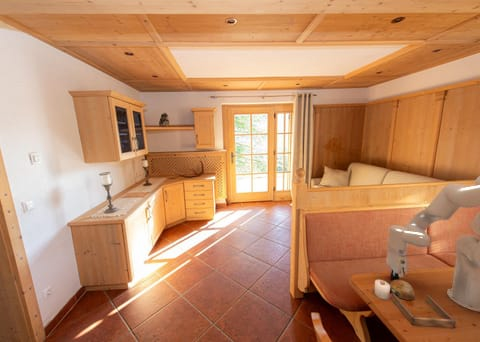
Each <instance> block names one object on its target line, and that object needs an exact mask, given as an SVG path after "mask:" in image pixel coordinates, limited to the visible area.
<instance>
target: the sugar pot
mask: <svg viewBox="0 0 480 342" xmlns="http://www.w3.org/2000/svg"><path fill="white" fill-rule="evenodd" d="M389 284H390V283H388V282H387V281H385V280H382V279H375V280H374V295H375V296H376V297H377V298H379V299H381V300H383V301H384V300H385V301H386V300H389V299H390V293H391V292H390V285H389Z"/></svg>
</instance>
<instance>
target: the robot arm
mask: <svg viewBox="0 0 480 342" xmlns="http://www.w3.org/2000/svg"><path fill="white" fill-rule="evenodd" d="M474 181H475V182H474V185H471V186H467V185H464V184H462V183H455V182H453V183H448V184H446V185H444V187H443V188H442V189H441V190H440V192H438V194H436V196H435V197H434V198H433V199H432V201H431V202H430V204H429V205H428V206H427V207H426V208H424V209H423V210H421V211H419V212H418V213H416V214H415V215H414V216H412V217H411V218H410V220H409V221H408V222H407V224H406V226H405V227H404V226H402V225H398V224H397V225H396V224H393V225H390V227H389V228H388V229H389V231H388V240H387V241H388V243H387V244H388V245H387V251H386V259H385V260H386V261H385V262H386V265H387V266H388V267H389V272H390V278H389V279H390V282H391V281H393V280H400V278H401V279H403V278H404V275H408V266H409V265H408V257H407V251H408V250H407V249H408V245H411V246H415V247H418V248H427V247H429V246H431V243H432V239H431V237H430V236H429V234H428V233H427V232H426V230H427V229H428V228H429V226H431V225H432V224H433V223H435V222H438V221H439V222H440V221H448V220H450V219H451V218H452V217H453V216H454V215H455V213H456V212H457V211H458V210H459V209H460V208H477V207H478V208H479V207H480V175H479V176H478V177H477V178H476V179H475V180H474ZM470 228H471V230H472V231H473V232H474V233H476V234H477V235H478V236H479V237H478V236H476V235H473V234H465V235H464V234H463V235H461V236H460V237H458V238H457V239H456V242H455V254H456V255H455V267H454V273H453V281H452V288H448V289H447V290H446V294H447V296H448V298H449V299H450V300H452V301H453V302H454V303H455V304H457V305H459V306H461V307H463V308H465V309H469V310H471V311H474V312H480V209H479V210H478V212H477V214H476V215H475V217H474V219H473V220H472V222H471V224H470Z"/></svg>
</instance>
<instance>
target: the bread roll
mask: <svg viewBox="0 0 480 342" xmlns="http://www.w3.org/2000/svg"><path fill="white" fill-rule="evenodd" d="M388 284H389V285H390V293H391V294H392V293H394V294H395V295H396V297H397V298H398V299H402V300H405V301H412V300H414V299H415V297H416V294H415V290H414V289H413V287H412V285H411V284H410V283H409V282H407V281H405V280H403V279H399V280H393V281H391V280H390V281H389V283H388Z"/></svg>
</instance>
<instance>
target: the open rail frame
mask: <svg viewBox="0 0 480 342" xmlns="http://www.w3.org/2000/svg"><path fill="white" fill-rule="evenodd" d="M390 298H391V300H392V301H393V302H394V304H395V305H396V307H397V308H398V309H399V310H400V311H401V313H402V314H403V315H404V316H405V318H406V319H407V320H408V321H409V323H410V324H411V325H412V326H419V325H420V326H421V327H423V326H424V327H434V326H436V327H437V328H447V329H448V328H450V329H455V328H456V326H457V325H456V323H457V321H456V320H455V319H454V318H453V317H452V316H451V315H450V314H449V313H448V312H447V311H446V310H444V308H442V307H441V306H440V304H438V303H437V302H436V301H435V300H434V299H433V298H432V297H431V296H430V295H429V294H425V301H426V303H427V304H429V305H430V307H431V308H432V309H433V310H435V312H436V313H438V314H439V315H440V317H441V318H436V317H435V318H434V317H433V318H432V317H431V318H429V317H417V316H414V315H413V314H412V313H411V312H410V311H409V309H407V307H406V306H405V305H404V304H403V302H402V301H401V299H400V298H399V297H397V296H396V295H395V294H394V293H391V297H390Z"/></svg>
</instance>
